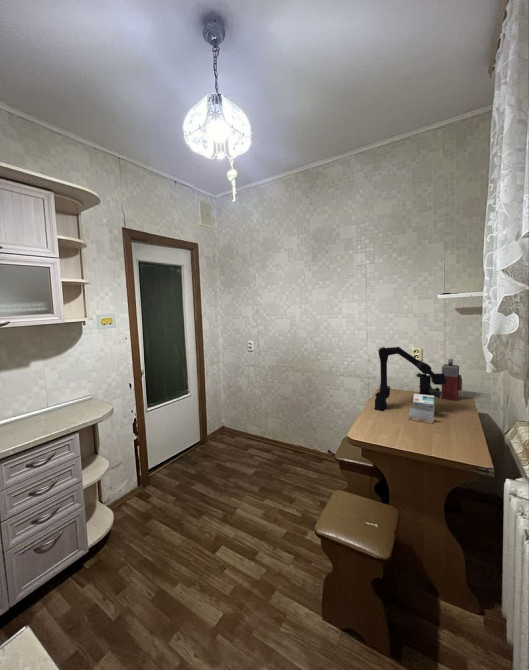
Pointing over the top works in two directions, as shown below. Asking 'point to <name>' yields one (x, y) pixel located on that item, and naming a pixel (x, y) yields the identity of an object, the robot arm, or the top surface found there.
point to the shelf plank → (421, 420)
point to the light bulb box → (424, 402)
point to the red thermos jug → (451, 381)
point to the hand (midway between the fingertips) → (425, 409)
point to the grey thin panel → (421, 414)
